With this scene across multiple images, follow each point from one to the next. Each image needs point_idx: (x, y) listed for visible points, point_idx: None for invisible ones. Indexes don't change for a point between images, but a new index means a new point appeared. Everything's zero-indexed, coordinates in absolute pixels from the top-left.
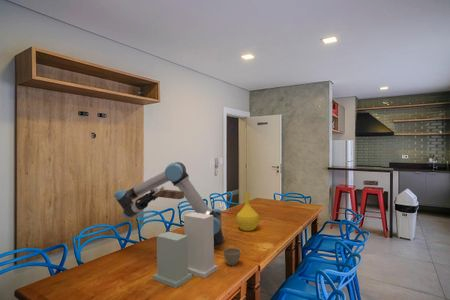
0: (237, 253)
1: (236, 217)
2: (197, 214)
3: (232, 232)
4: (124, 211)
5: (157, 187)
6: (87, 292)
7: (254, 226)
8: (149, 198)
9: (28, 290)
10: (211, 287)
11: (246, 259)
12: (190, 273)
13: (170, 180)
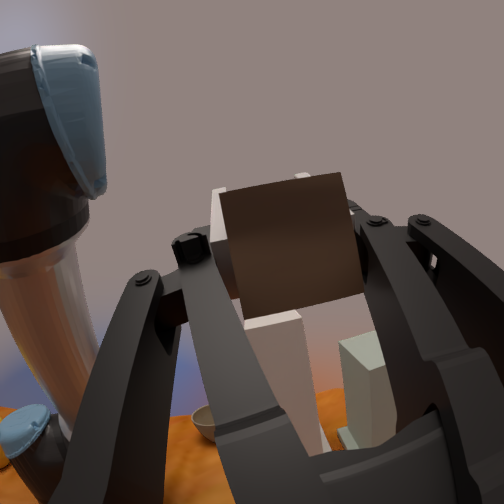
0: (199, 421)
1: None
2: (263, 317)
3: (11, 485)
4: None
5: (304, 175)
6: None
7: None
8: (382, 344)
9: None
10: (332, 402)
11: (187, 430)
12: (339, 431)
13: (105, 170)
